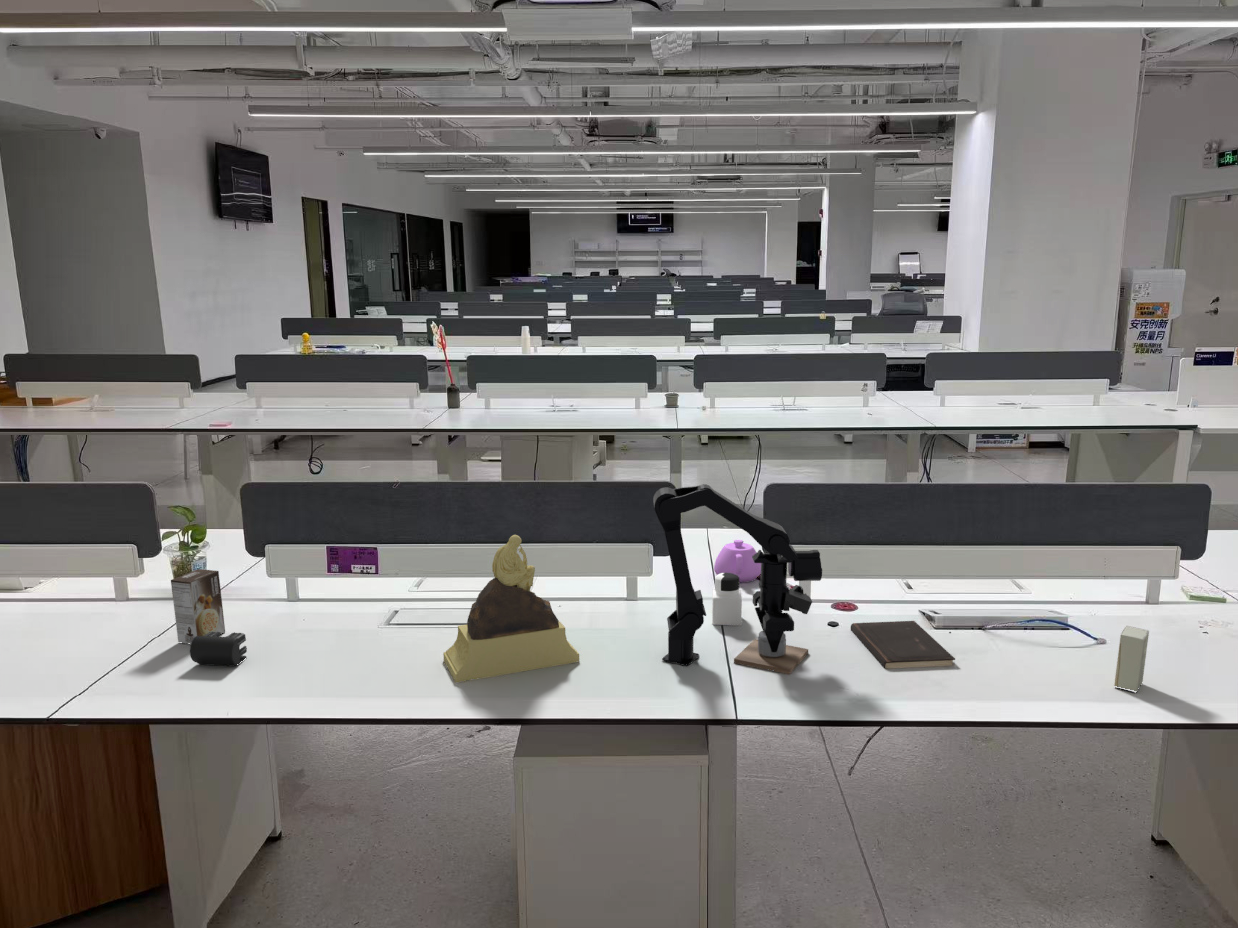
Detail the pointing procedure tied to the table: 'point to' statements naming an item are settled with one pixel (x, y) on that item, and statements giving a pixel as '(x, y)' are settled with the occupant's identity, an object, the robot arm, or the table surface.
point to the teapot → (738, 561)
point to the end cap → (218, 649)
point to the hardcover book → (901, 644)
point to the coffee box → (197, 604)
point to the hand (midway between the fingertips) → (771, 646)
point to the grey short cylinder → (765, 648)
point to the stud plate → (771, 658)
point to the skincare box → (1131, 658)
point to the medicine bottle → (727, 600)
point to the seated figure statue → (508, 625)
